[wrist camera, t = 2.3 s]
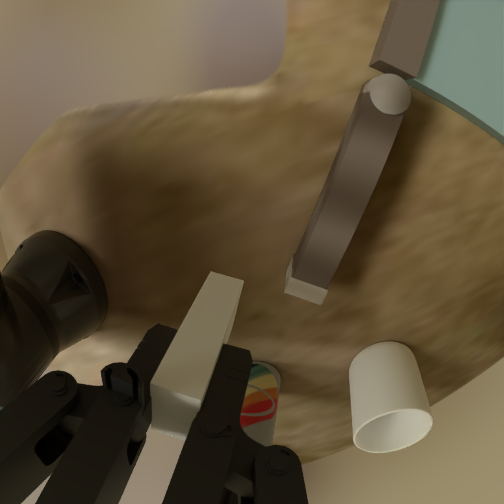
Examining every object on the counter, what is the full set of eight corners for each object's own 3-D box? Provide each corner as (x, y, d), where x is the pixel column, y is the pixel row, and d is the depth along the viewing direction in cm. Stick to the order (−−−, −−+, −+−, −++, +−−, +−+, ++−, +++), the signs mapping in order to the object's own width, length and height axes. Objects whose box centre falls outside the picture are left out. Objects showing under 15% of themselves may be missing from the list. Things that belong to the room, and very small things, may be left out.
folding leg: (364, 71, 22) (376, 65, 18) (401, 89, 22) (418, 86, 18) (286, 268, 31) (283, 294, 27) (319, 280, 31) (320, 307, 27)
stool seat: (368, 66, 22) (379, 59, 18) (410, -64, 15) (421, -81, 11) (533, 168, 22) (556, 178, 18) (563, 46, 15) (585, 45, 11)
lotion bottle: (252, 352, 36) (212, 512, 19) (290, 374, 37) (270, 529, 19) (227, 375, 39) (183, 518, 21) (263, 395, 40) (235, 535, 22)
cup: (383, 327, 32) (400, 399, 23) (442, 367, 34) (463, 429, 25) (334, 371, 36) (335, 441, 27) (396, 403, 37) (406, 464, 28)
